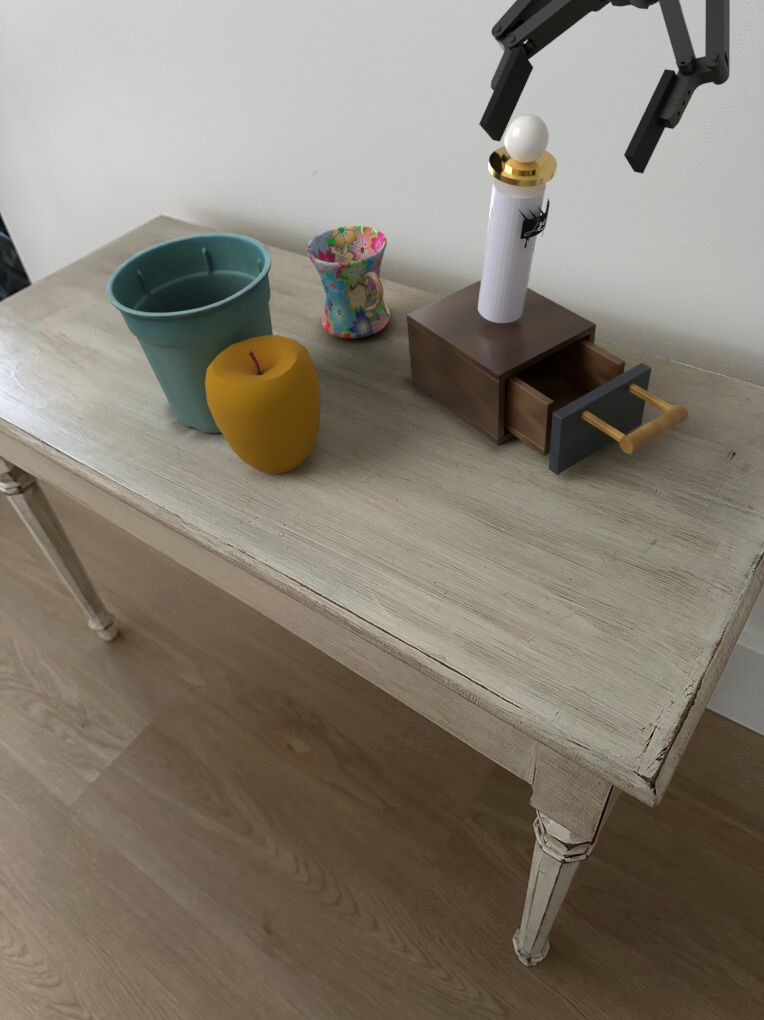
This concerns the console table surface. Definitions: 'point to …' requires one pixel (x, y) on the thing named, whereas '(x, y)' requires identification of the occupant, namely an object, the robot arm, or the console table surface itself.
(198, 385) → the flower pot
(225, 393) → the apple
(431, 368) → the cabinet
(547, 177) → the perfume bottle
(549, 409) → the drawer
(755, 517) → the console table surface
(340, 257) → the mug
